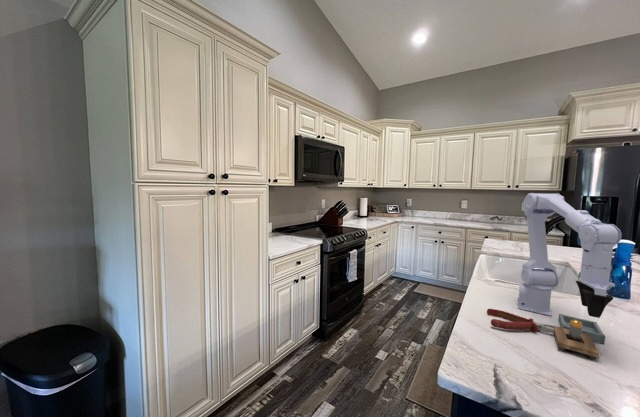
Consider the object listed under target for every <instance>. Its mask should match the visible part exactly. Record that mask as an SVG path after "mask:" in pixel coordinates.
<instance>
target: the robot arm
mask: <svg viewBox="0 0 640 417" xmlns="http://www.w3.org/2000/svg"><path fill="white" fill-rule="evenodd" d="M523 210H524V211H523V212H524V216H526V220H527V233H528V248H529V260H528V261H527V262H525V263H523V264H522V265H521V268H522V269H521V274H520V277H521V280H522V282H523V283H521V282H519V287H518V288H519V289H518V290H519V291H518V296H517V300H516V301H517V304H518V305H517V306H518V309H519V310H520V309H521V310H525V311H528V312H532V313H536V314H539V315H540V314H541V315H546V316H550V317H552V316H553V313H552V311H551V298H552V290H555V288H556V287H557V286H558V285H559V283H560V276H559V274H558V271H557V267H556V266H555V265H554V264H553V263H551V262H550V261H549V255H548V244H547V232H546V231H547V230H546V219H547V218H548V217H551V216H552V215H554V214H558V215H560V216H561V217H563V218H564V222H565V224H567V226H569V227H570V228H571V229H573V231H575V232H577V234H578V238H579V240H580V246H581V249H582V253H581V254H582V255H581V263H580V264H581V265H580V274H579V277H578V280H575V283H576V285H577V288H578V291H579V294H580V301H581V306H583V307H586V308H587V309H586V310H587V314H588V316H589V317H592V318H597V319H600V318H601V316H602V314H603V312H604V311H605V308H606V307H607V306H608V304H609V303H611V302H612V301H613V300H614V296H612V295H611V294H607V290H608V288H609V287H611V288H615V287H616V284H615V283H614V282H611V281H610V275H611V269H612V268H611V267H612V260H613V252H614V251H613V250H614V245H617V244H618V243H620V241H621V239H622V232H621V229H620V228H618V226H616V225H615V224H613V223H609V224H608V223H603V222H601V220H600V219H599V218H598V219H597V218H595V217H594V216H592V215H591V214H590V213H589V211H587V210H583V209H577V210H576V209H575V208H574V207H573V206H572V205H570V204H569V203H567V202H566V201H565V196H563V195H561V194H560V193H558V192H557V193H534V192H530V193H528V194H527V195H526V196H525V198H524V199H523Z"/></svg>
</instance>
